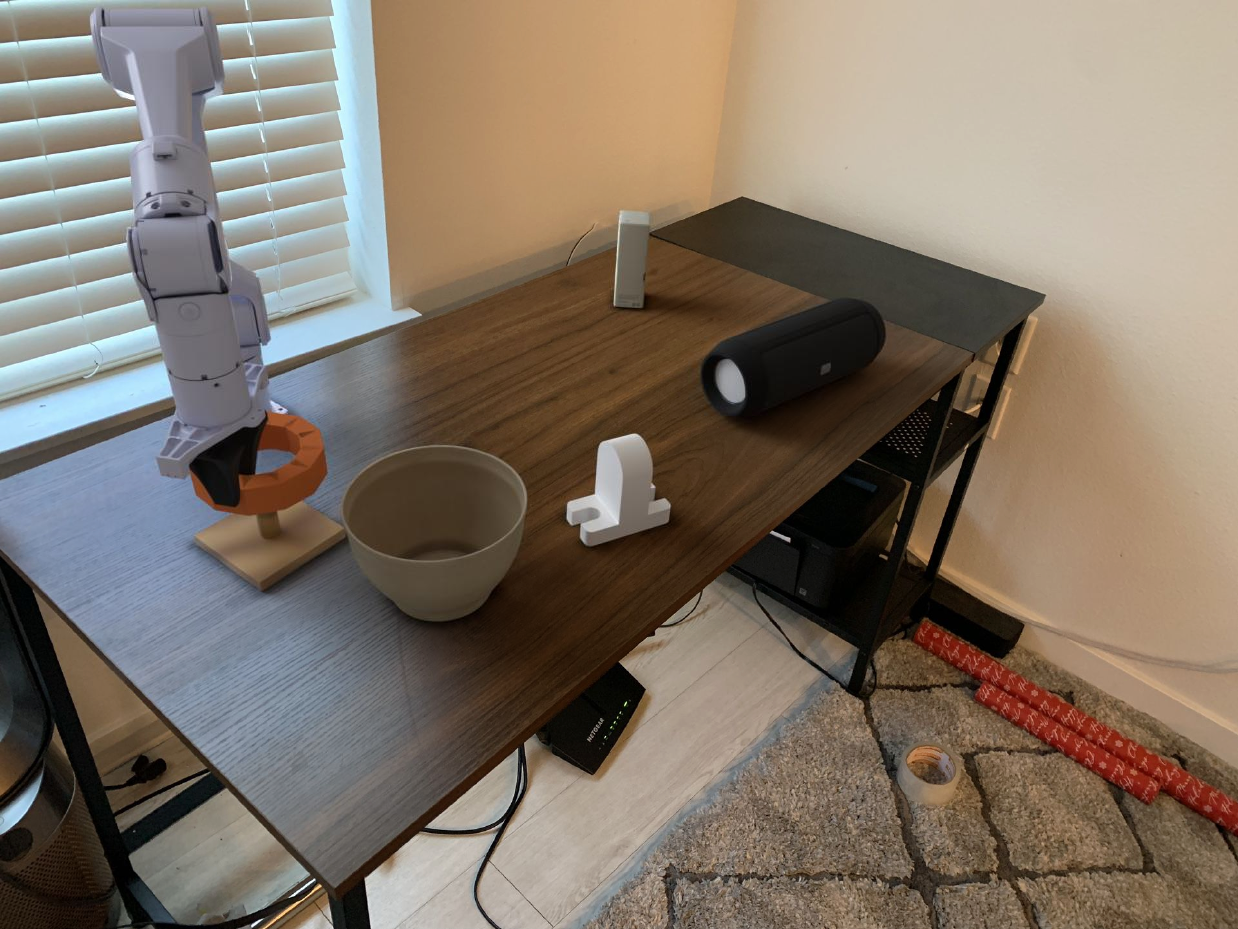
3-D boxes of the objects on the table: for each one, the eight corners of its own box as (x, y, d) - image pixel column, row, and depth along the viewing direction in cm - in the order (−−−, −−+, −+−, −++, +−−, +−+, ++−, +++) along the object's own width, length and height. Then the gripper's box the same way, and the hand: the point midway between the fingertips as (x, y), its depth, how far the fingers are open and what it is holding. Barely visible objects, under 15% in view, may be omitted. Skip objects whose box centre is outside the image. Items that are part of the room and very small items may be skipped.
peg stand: (195, 544, 91) (182, 495, 88) (280, 495, 98) (271, 447, 94) (261, 591, 87) (250, 541, 83) (346, 537, 94) (339, 488, 90)
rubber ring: (233, 430, 93) (227, 405, 91) (345, 447, 92) (342, 422, 90) (170, 503, 84) (162, 477, 82) (294, 523, 83) (289, 497, 81)
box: (643, 309, 136) (651, 225, 129) (612, 307, 136) (619, 223, 129) (643, 293, 141) (650, 210, 133) (613, 291, 140) (619, 208, 133)
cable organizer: (671, 521, 99) (681, 445, 93) (587, 547, 95) (592, 469, 89) (646, 492, 103) (654, 417, 97) (564, 516, 99) (568, 438, 93)
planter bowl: (446, 509, 98) (442, 423, 92) (560, 584, 90) (564, 497, 84) (316, 588, 88) (301, 498, 81) (433, 681, 80) (426, 590, 74)
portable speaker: (745, 438, 112) (759, 366, 106) (690, 400, 118) (700, 329, 112) (881, 378, 126) (899, 311, 120) (825, 346, 132) (840, 281, 126)
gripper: (205, 419, 69) (237, 555, 77) (291, 326, 81) (311, 453, 89) (115, 404, 70) (156, 541, 78) (214, 315, 81) (241, 442, 90)
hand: (234, 494), depth 83 cm, fingers closed on rubber ring, 2 cm apart
